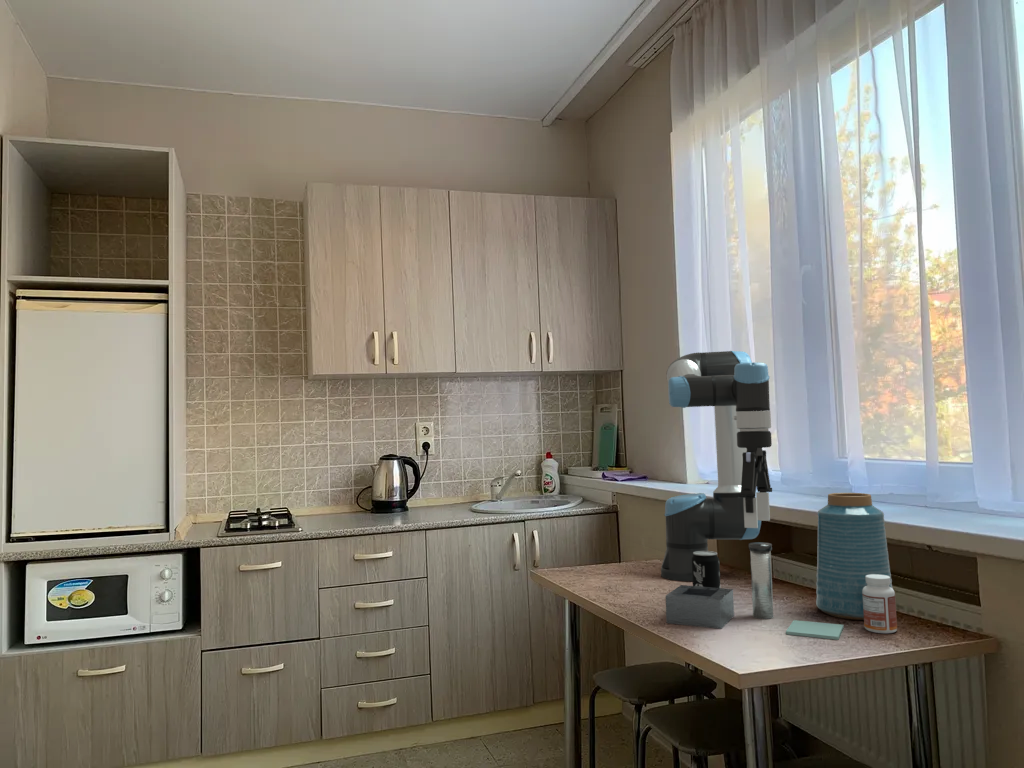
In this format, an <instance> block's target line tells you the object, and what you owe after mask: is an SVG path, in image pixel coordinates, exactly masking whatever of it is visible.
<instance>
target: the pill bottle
mask: <svg viewBox="0 0 1024 768" xmlns="http://www.w3.org/2000/svg"><path fill="white" fill-rule="evenodd" d="M866 583H867V586H865V587H864V588H863V590H862V594H863V611H864V620H863V625H864V629H865V630H866V631H869V632H871V633H876V634H884V635H885V634H894V633H895V632H897V631H898V620H897V619H898V617H897V605H896V604H897V602H896V593H895V590H894V588H893V587H892V588H893V589H892V588H891V587H889V585H890V583H891V581H890V577H889V576H887V575H879V574H871V575H866ZM891 584H892V583H891Z"/></svg>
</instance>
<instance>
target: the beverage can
mask: <svg viewBox="0 0 1024 768" xmlns="http://www.w3.org/2000/svg"><path fill="white" fill-rule="evenodd" d="M693 554H694V555H693V557H692V580H693V581H692V586H700V587H712V588H721V573H720V572H721V571H720V569H721V568H720V558H719V557H718V552H716V551H711V550H708V551H696V552H693Z"/></svg>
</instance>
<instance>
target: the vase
mask: <svg viewBox="0 0 1024 768" xmlns="http://www.w3.org/2000/svg"><path fill="white" fill-rule="evenodd" d="M872 501H873V500H872V495H871V494H869V493H862V492H861V493H860V492H832V493H828V494H827V504H826V505H825V506H823V507H822V508H820V509H818V510H817V537H816V538H817V539H816V540H817V554H816V555H817V557H816V560H817V561H816V562H817V564H816V567H817V568H816V576H815V577H816V583H815V585H816V593H815V594H816V600H815V604H816V607H817V608H818V610H820V611H821V612H823V613H824V614H827V615H828V616H831V617H836V618H840V619H844V620H845V619H847V620H856V621H857V620H858V621H860V620H861V621H864V611H863V594H862V590H863V588H864V587H865V586H867V583H866V575H871V574H879V575H887V576H889V577H890V581H891V583H890V585H889V587H891V588H892V589H893V590H894V588H893V584H892V582H893V580H892V574H891V567H890V560H889V557H890V556H889V551H888V550H889V549H888V541H887V533H886V527H885V525H886V523H885V514H884V512H883V511H882V510H880V509H879V508H878V507H875V506H874V505H873V502H872Z"/></svg>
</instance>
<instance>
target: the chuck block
mask: <svg viewBox="0 0 1024 768" xmlns="http://www.w3.org/2000/svg"><path fill="white" fill-rule="evenodd" d="M734 605H735V603H734V589H733V588H723V587H720V588H712V587H700V586H693V585H685V584H680V585H679V586H677V587H676V588H674V589H673V590H671V591H669V592H668V593H666V595H665V617H666V618H665V620H666V624H671V625H672V624H673V625H674V624H675V625H683V626H691V627H700V628H701V627H702V628H709V629H719V630H720V629H721V630H722V629H723V628H724V627H725V625H726V624H728V623H729V622H730V621H731V620H732V619H733V618H734V617H735V609H734V607H735V606H734Z"/></svg>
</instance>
